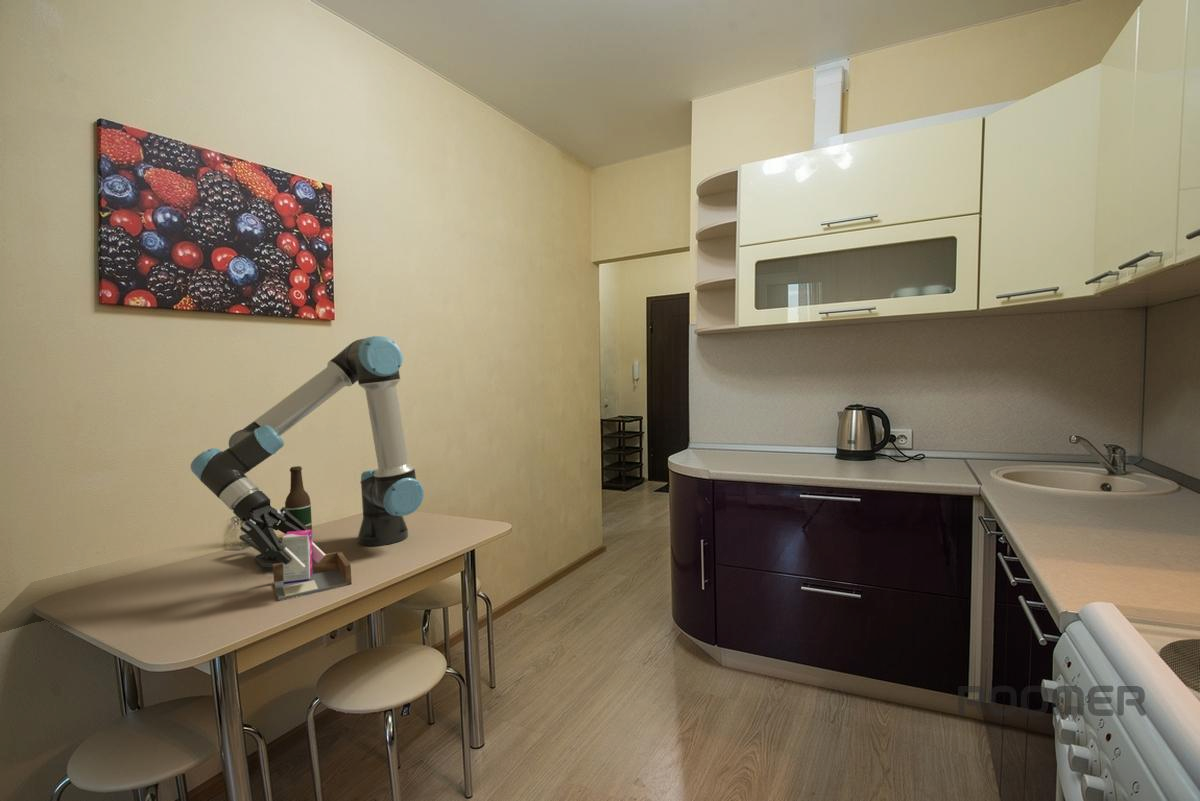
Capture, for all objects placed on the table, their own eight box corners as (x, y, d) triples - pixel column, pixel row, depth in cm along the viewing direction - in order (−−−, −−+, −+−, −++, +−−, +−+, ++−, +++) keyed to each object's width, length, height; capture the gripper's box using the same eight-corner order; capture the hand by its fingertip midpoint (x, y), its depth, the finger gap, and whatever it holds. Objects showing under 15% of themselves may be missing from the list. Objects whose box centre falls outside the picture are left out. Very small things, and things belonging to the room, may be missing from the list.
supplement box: (310, 581, 130) (307, 534, 130) (282, 584, 128) (280, 538, 128) (314, 572, 136) (312, 528, 135) (288, 576, 134) (285, 531, 133)
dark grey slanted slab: (269, 528, 167) (301, 542, 151) (270, 549, 167) (303, 565, 151) (235, 535, 160) (266, 550, 144) (237, 557, 160) (267, 575, 144)
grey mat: (341, 569, 147) (341, 566, 147) (351, 584, 135) (351, 581, 135) (273, 583, 138) (273, 580, 138) (278, 601, 126) (278, 598, 126)
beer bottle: (316, 537, 178) (312, 466, 177) (290, 543, 172) (286, 469, 171) (308, 533, 183) (304, 464, 182) (283, 539, 178) (278, 467, 176)
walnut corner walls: (341, 569, 147) (340, 551, 147) (351, 584, 135) (350, 564, 135) (273, 583, 138) (272, 564, 137) (278, 601, 126) (277, 580, 126)
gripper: (265, 501, 143) (326, 560, 142) (203, 522, 123) (273, 591, 122) (283, 481, 142) (344, 541, 141) (223, 499, 122) (294, 568, 121)
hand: (311, 564), depth 132 cm, fingers closed on supplement box, 7 cm apart
